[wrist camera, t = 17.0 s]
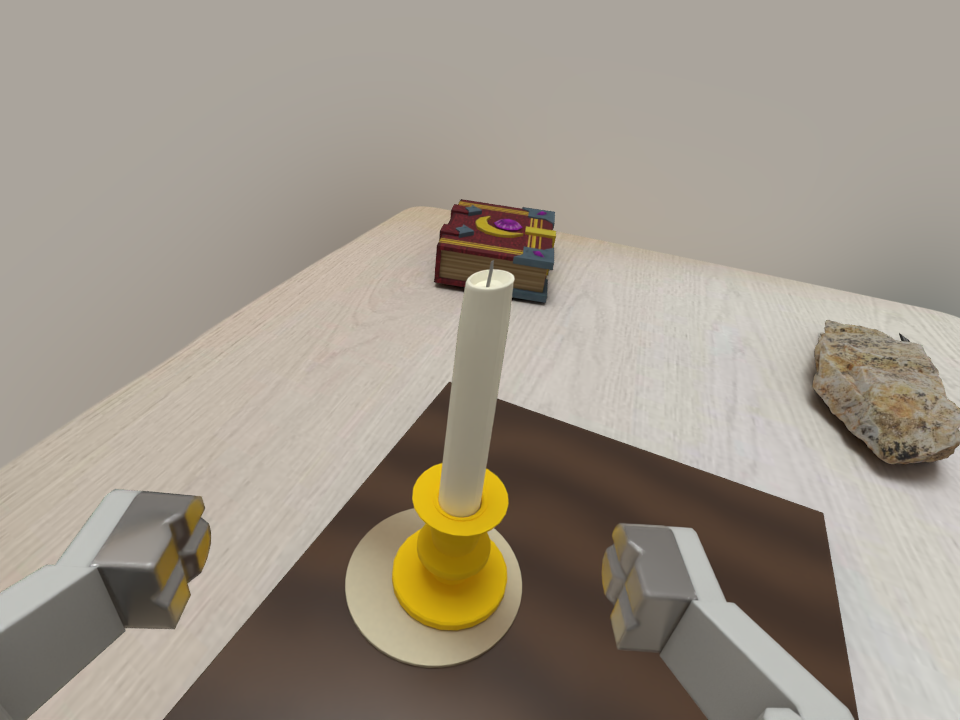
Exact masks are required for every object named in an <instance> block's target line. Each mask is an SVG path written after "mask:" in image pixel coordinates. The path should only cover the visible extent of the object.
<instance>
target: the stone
mask: <svg viewBox="0 0 960 720" xmlns="http://www.w3.org/2000/svg"><path fill="white" fill-rule="evenodd" d="M820 335H821V337H819V338H818V341H819V343H818V344H817V345H816V347H815V362H816V369H817V373H816V374H815V375H814V379H813V385H812V387H813V388H814V389H815V391H816V392H817V393H818V394H819V396H820V397H821V398H822V399H823V400H824V402H825V403H826V404H827V405H828V406H829V408H830V411H831V412H832V414H835V415H836V416H837V417H838V418H839V419H840V420H842V421H843V422H844V423H845V425H846V427H847V429H848V430H849V431H851V432H852V433H853V434H854V435H855V436H857V437H858V438H860V439H862V440H863V441H864V442H865V443H866V444H867V447H868V448H870V449H871V450H872V451H873V453H874V454H876V455H877V457H878V458H880V459H881V460H883V461H885V462H886V463H889V464H896V463H901V464H910V463H919V462H925V461H926V462H934V461H938V460H942V459H945V458H948V457H949V456H950V455H951V454H953V453H954V450H955V448H956V447H958V446H959V444H960V431H959V429H958V428H959V427H960V408H959V407H957V406H956V404H955V403H953V402H952V401H950V400H949V399H947V397H946V393H945V389H944V386H943V384H942V380H941V379H940V377H939V372H938V370H937V368H936V367H935V366H934V365H933V363H932V362H931V358H930V357H928V356H927V355H926V353H925V351H924V349H923V345H920V344H917V343H912V342H910V341H909V340H908V339H907V338H905V337H904V336H902V335H901V334H900V333H899V335H900V338H901V341H897V340H894V339H893V338H892V337H890V336H888V335H886V334H885V333H883V332H880V331H879V330H876V329H869V328H866V327H862V326H855V325H848V324H845V325H844V324H841V323H838V322H834V321H830V320H826V322H825V333H821V334H820Z"/></svg>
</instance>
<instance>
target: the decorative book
mask: <svg viewBox="0 0 960 720" xmlns="http://www.w3.org/2000/svg"><path fill="white" fill-rule="evenodd" d="M554 220H555V212H552V211H545V210H539V209H532V208H525V207H523V208H522V209H520V208H514V207H507V206H501V205H494V204H488V203H482V202H475V201H469V200H462V199H461V200H460V202H459V204H458V205H456V204H454V206H453V208H452V210H451V219H450V221H449V223H448V224H444V225H443V226H442V228H441V230H440V239H439V243H438V244H437V253H436V266H435V279H434V282H435V283H441V284H448V285H454V286H460V287H465V285H466V281H467V279H468V278H469V277H470V276H471V275H472V274H474V273H476V272H479V271H483V270H489V269H490V264H491V261H493V260H494V265H493V269H494V270H503V271H507V272H509V273H511V274H512V275H513V276H514V279H515V280H514V283H513V291H512V297H514V298H520V299H526V300H532V301H538V302H544V303H546V299H547V285H548V280H547V279H546V275H548V272H549V270H553V265H554V243H555V238H556V231H553V228H554Z"/></svg>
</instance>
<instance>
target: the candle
mask: <svg viewBox="0 0 960 720" xmlns="http://www.w3.org/2000/svg"><path fill="white" fill-rule="evenodd" d="M493 265H494V260H493V261H491V264H490V269H489V270H483V271H479V272H476V273H474V274H472V275H471V276H470V277H469V278H468V279H467V281H466V285H465V291H464V297H463V303H462V309H461V314H460V320H459V326H458V334H457V343H456V351H455V360H454V369H453V377H452V386H451V394H450V403H449V412H448V420H447V429H446V438H445V446H444V455H443V463H441V464H438V465H435V466H433V467H431V468H429V469H428V470H426V471H425V472H424V473H423V474H422V475H421V476H420V477H419V478H418V479H417V481H416V483H415V485H414V488H413V496H412V501H413V505H414V509H415V511H416V512H417V514H418V516H419V517H420V519H421V520H422V521H424V522H425V523H426V524H425V525H424V526H423V527H422V528H421V529H420V530H418V531H417V532H415V533H414V534H412V535H411V536H410V537H408V538H407V539H406V540H405V542H404V543H403V544H402V545H401V546H400V548H399V550H398V552H397V554H396V556H395V559H394V562H393V570H392V582H393V588H394V593H395V595H396V597H397V599H398V601H399V603H400V605H401V606H402V607H403V608H404V609H405V611H406V612H407V613H408V614H409V615H410V616H411V617H412V618H414V619H416V620H417V621H419V622H421V623H422V624H424V625H426V626H429V627H433V628H436V629H439V630H461V629H465V628H470V627H473V626H475V625H477V624H479V623H481V622H483V621H484V620H486V619H487V618H488V617H489V616H490V615H491V614H492V613H493V612H494V611H495V610H496V609H497V608H498V606H499V604H500V602H501V601H502V599H503V597H504V592H505V588H506V584H507V566H506V563H505V561H504V558H503V555H502V553H501V552H500V550H499V549H498V547H497V546H496V544H495V543H494V542H493V541H492V540H491V539H490V538H489V535H488V533H487V532H488V531H490V530H492V529H493V528H495V527H496V526H497V525H498V524H500V522H501V521H502V519H503V518H504V516H505V515H506V512H507V508H508V504H509V503H508V493H507V491H506V489H505V486H504V484H503V483H502V482H501V480H500V479H499V478H498V477H497V476H496V475H495V474H493V473H492V472H491V471H490V470H488V469H486V465H487V459H488V453H489V446H490V440H491V434H492V427H493V421H494V415H495V408H496V402H497V396H498V389H499V383H500V377H501V370H502V364H503V358H504V351H505V345H506V339H507V332H508V326H509V319H510V310H511V300H512V291H513V283H514V280H515V279H514V276H513V275H512V274H511V273H509V272H507V271H503V270H494V269H493Z"/></svg>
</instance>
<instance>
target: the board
mask: <svg viewBox="0 0 960 720" xmlns="http://www.w3.org/2000/svg"><path fill="white" fill-rule="evenodd" d="M451 386H452V383H451V382H449V383H448V384H447V385H446V386H445V387H444V388H443V390H442V391H441V392H440V393H439V394H438V396H437V397H436V398H435V399H434V400H433V401H432V403H431V404H430V405H429V406H428V407H427V409H426V410H425V411H424V412H423V413H422V414H421V416H420V417H419V418H418V419H417V420H416V422H415V423H414V424H413V425H412V426H411V427H410V429H409V430H408V431H407V432H406V433H405V435H404V436H403V437H402V438H401V439H400V440H399V442H398V443H397V444H396V445H395V446H394V448H393V449H392V450H391V451H390V452H389V453H388V455H387V456H386V457H385V458H384V459H383V461H382V462H381V463H380V464H379V465H378V466H377V468H376V469H375V470H374V471H373V472H372V473H371V475H370V476H369V477H368V478H367V479H366V481H365V482H364V483H363V484H362V485H361V486H360V488H359V489H358V490H357V491H356V492H355V494H354V495H353V496H352V497H351V498H350V499H349V501H348V502H347V503H346V504H345V505H344V507H343V508H342V509H341V510H340V511H339V512H338V514H337V515H336V516H335V517H334V518H333V520H332V521H331V522H330V523H329V524H328V525H327V527H326V528H325V529H324V530H323V531H322V533H321V534H320V535H319V536H318V537H317V538H316V540H315V541H314V542H313V543H312V544H311V545H310V547H309V548H308V549H307V550H306V551H305V553H304V554H303V555H302V556H301V557H300V558H299V560H298V561H297V562H296V563H295V564H294V566H293V567H292V568H291V569H290V570H289V571H288V573H287V574H286V575H285V576H284V577H283V579H282V580H281V581H280V582H279V583H278V584H277V586H276V587H275V588H274V589H273V590H272V592H271V593H270V594H269V595H268V596H267V597H266V599H265V600H264V601H263V602H262V603H261V605H260V606H259V607H258V608H257V609H256V610H255V612H254V613H253V614H252V615H251V616H250V618H249V619H248V620H247V621H246V622H245V623H244V625H243V626H242V627H241V628H240V629H239V630H238V632H237V633H236V634H235V635H234V636H233V638H232V639H231V640H230V641H229V642H228V643H227V645H226V646H225V647H224V648H223V649H222V651H221V652H220V653H219V654H218V655H217V656H216V658H215V659H214V660H213V661H212V662H211V664H210V665H209V666H208V667H207V668H206V669H205V671H204V672H203V673H202V674H201V675H200V677H199V678H198V679H197V680H196V681H195V682H194V684H193V685H192V686H191V687H190V688H189V690H188V691H187V692H186V693H185V694H184V695H183V697H182V698H181V699H180V700H179V701H178V702H177V704H176V705H175V706H174V707H173V708H172V710H171V711H170V712H169V713H168V714H167V715H166V717H165V718H164V719H163V720H708V719H707V717H706V716H705V715H704V714H703V712H702V711H701V710H700V708H699V707H698V706H697V704H696V703H695V702H694V700H693V699H692V698H691V696H690V695H689V694H688V692H687V691H686V690H685V688H684V687H683V686H682V685H681V683H680V682H679V681H678V679H677V678H676V677H675V675H674V674H673V673H672V671H671V670H670V669H669V667H668V666H667V665H666V663H665V662H664V661H663V659H662V658H661V657H660V656H659V655H660V653H653V652H639V651H626V650H618V649H617V645H616V640H615V636H614V632H613V628H612V623H611V619H610V616H611V613H612V611H613V609H614V607H615V606H614V605H613V604H612V603H611V601H610V600H609V599H608V598H607V597H606V596H605V593H604V588H603V583H602V561H603V557H604V554H605V551H606V549H607V548H608V547H610V546H611V545H613V544H614V541H613V537H612V534H613V531H614V529H615V527H616V526H617V525H618V524H619V523H624V524H643V525H662V526H666V527H667V526H669V527H685V528H692V529H693V530H694V531H695V532H696V533H697V535H698V537H699V540H700V542H701V544H702V547H703V549H704V551H705V554H706V556H707V558H708V560H709V563H710V565H711V567H712V570H713V572H714V574H715V577H716V579H717V581H718V583H719V586H720V588H721V590H722V593H723V595H724V597H725V600H726V602H730V603H735V604H736V605H737V606H738V607H739V608H740V609H741V610H742V611H743V612H744V613H745V614H747V615H748V616H749V617H750V618H751V619H752V620H753V621H754V622H755V623H756V624H757V625H758V626H759V627H761V628H762V629H763V630H764V631H765V632H766V633H767V634H768V635H769V636H770V637H771V638H772V639H774V640H775V641H776V642H777V643H778V644H779V645H780V646H781V647H782V648H783V649H784V650H785V651H786V652H788V653H789V654H790V655H791V656H792V657H793V658H794V659H795V660H796V661H797V662H798V663H799V664H801V665H802V666H803V667H804V668H805V669H806V670H807V671H808V672H809V673H810V674H811V675H812V676H813V677H815V678H816V679H817V680H818V681H819V682H820V683H821V684H822V685H823V686H824V687H825V688H826V689H828V690H829V691H830V692H831V693H832V694H833V695H834V696H835V697H836V698H837V699H838V700H839V701H840V702H842V703H843V704H844V705H845V706H846V707H847V708H848V709H849V711H850V713H851V714H852V716H853V718H854V720H859V718H858V712H857V707H856V701H855V695H854V689H853V683H852V677H851V672H850V666H849V660H848V654H847V648H846V642H845V637H844V631H843V625H842V619H841V613H840V607H839V602H838V596H837V590H836V584H835V578H834V572H833V567H832V561H831V555H830V549H829V543H828V537H827V532H826V526H825V520H824V514H823V513H822V512H819V511H816V510H813V509H811V508H808V507H805V506H802V505H799V504H796V503H794V502H791V501H788V500H785V499H782V498H779V497H776V496H774V495H771V494H768V493H765V492H762V491H759V490H756V489H754V488H751V487H748V486H745V485H742V484H739V483H736V482H734V481H731V480H728V479H725V478H722V477H719V476H716V475H714V474H711V473H708V472H705V471H702V470H699V469H697V468H694V467H691V466H688V465H685V464H682V463H679V462H677V461H674V460H671V459H668V458H665V457H662V456H659V455H657V454H654V453H651V452H648V451H645V450H642V449H639V448H637V447H634V446H631V445H628V444H625V443H622V442H620V441H617V440H614V439H611V438H608V437H605V436H602V435H600V434H597V433H594V432H591V431H588V430H585V429H582V428H580V427H577V426H574V425H571V424H568V423H565V422H562V421H560V420H557V419H554V418H551V417H548V416H545V415H543V414H540V413H537V412H534V411H531V410H528V409H525V408H523V407H520V406H517V405H514V404H511V403H508V402H505V401H503V400H500V399H497V402H496V408H495V415H494V421H493V427H492V434H491V440H490V446H489V453H488V459H487V465H486V469H488V470H490V471H491V472H492V473H493V474H495V475H496V476H497V477H498V478H499V479H500V480H501V482H502V483H503V484H504V486H505V489H506V491H507V493H508V503H509V504H508V508H507V512H506V515H505V516H504V518H503V519H502V521H501V522H500V524H498V525H497V526H496V527H495V528H493V529H492V530H490V531H488V532H487V533H488V535H489V538H490V539H491V540H492V541H493V542H494V543H495V544H496V546H497V547H498V549H499V550H500V552H501V553H502V555H503V558H504V561H505V563H506V566H507V584H506V588H505V592H504V597H503V599H502V601H501V602H500V604H499V606H498V608H497V609H496V610H495V611H494V612H493V613H492V614H491V615H490V616H489V617H488V618H487V619H486V620H484V621H483V622H481V623H479V624H477V625H475V626H473V627H470V628H465V629H461V630H439V629H436V628H433V627H429V626H426V625H424V624H422V623H421V622H419V621H417V620H416V619H414V618H412V617H411V616H410V615H409V614H408V613H407V612H406V611H405V609H404V608H403V607H402V606H401V605H400V603H399V601H398V599H397V597H396V595H395V593H394V588H393V582H392V570H393V562H394V559H395V556H396V554H397V552H398V550H399V548H400V546H401V545H402V544H403V543H404V542H405V540H406V539H407V538H408V537H410V536H411V535H412V534H414V533H415V532H417V531H418V530H420V529H421V528H422V527H423V526H424V525H425V524H426V523H425V522H424V521H422V520H421V519H420V517H419V516H418V514H417V512H416V511H415V509H414V505H413V501H412V496H413V488H414V485H415V483H416V481H417V479H418V478H419V477H420V476H421V475H422V474H423V473H424V472H425V471H426V470H428V469H429V468H431V467H433V466H435V465H438V464H441V463H443V455H444V446H445V438H446V429H447V420H448V412H449V403H450V394H451Z"/></svg>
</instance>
